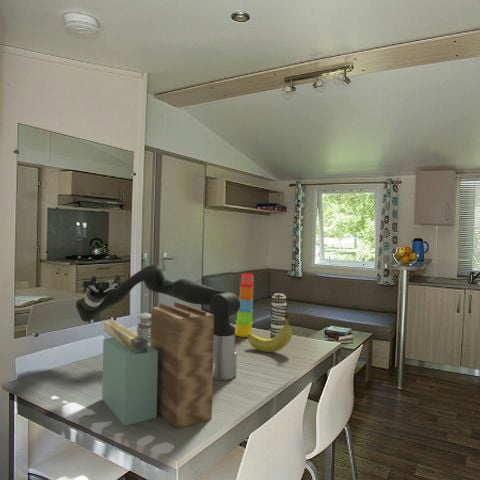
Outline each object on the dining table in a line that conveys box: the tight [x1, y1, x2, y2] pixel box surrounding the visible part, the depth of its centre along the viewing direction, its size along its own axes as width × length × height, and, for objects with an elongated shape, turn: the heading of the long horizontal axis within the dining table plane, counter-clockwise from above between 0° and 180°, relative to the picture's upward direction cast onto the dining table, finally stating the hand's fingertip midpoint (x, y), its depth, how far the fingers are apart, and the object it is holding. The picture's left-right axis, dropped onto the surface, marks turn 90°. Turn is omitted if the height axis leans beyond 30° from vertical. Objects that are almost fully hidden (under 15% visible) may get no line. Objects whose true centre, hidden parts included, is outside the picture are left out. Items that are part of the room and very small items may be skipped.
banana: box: [247, 312, 293, 353], centre depth 191 cm, size 23×6×20 cm, turn 62°
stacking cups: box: [235, 273, 255, 338], centre depth 222 cm, size 10×10×35 cm
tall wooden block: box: [150, 301, 214, 430], centre depth 126 cm, size 12×20×33 cm, turn 35°
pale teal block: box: [101, 337, 158, 427], centre depth 127 cm, size 10×22×20 cm, turn 35°
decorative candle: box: [269, 292, 288, 339], centre depth 213 cm, size 9×9×25 cm
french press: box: [136, 293, 151, 346], centre depth 201 cm, size 10×12×25 cm
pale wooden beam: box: [103, 319, 147, 354], centre depth 131 cm, size 4×32×4 cm, turn 35°
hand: (106, 277), depth 149 cm, fingers open, 8 cm apart
